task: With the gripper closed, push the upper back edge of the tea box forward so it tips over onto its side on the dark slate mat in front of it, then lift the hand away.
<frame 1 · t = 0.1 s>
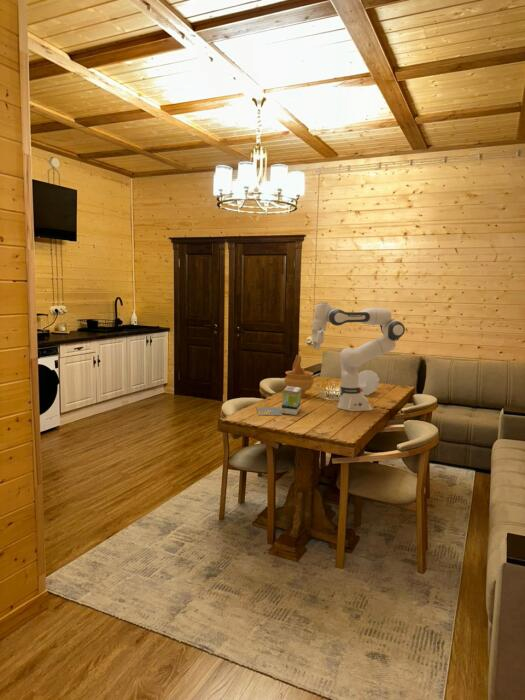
hand: (316, 348, 309), 39 cm above the table, tool pointing down, fingers open, 8 cm apart
terracotta urn: (298, 396, 348), on the table
tea box: (290, 411, 301), on the table, touching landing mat
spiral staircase: (365, 393, 363), on the table
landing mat: (269, 411, 300), on the table
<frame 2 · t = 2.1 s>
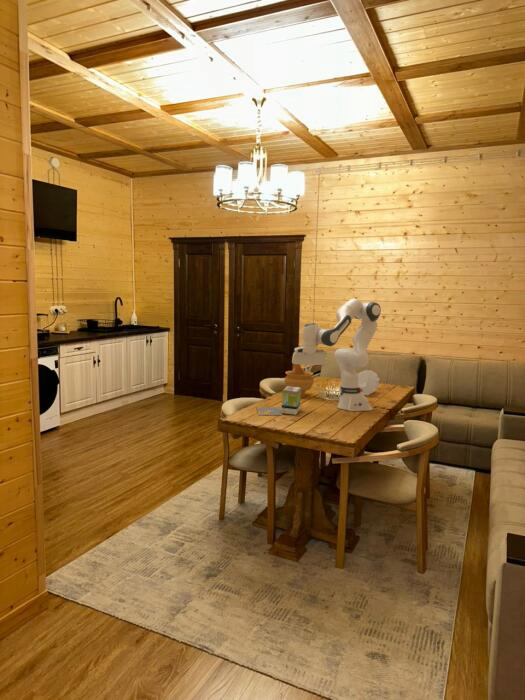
hand: (307, 371, 298), 26 cm above the table, tool pointing down, fingers closed
nothing on the table moved.
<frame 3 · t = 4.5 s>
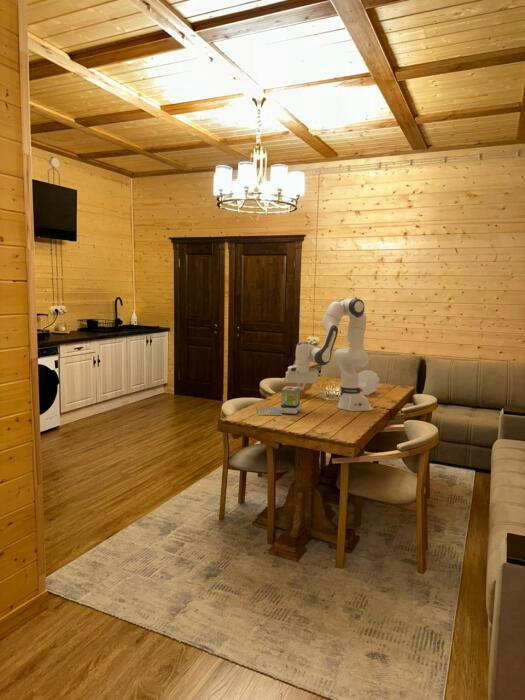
hand: (301, 389, 299), 14 cm above the table, tool pointing down, fingers closed
tea box: (290, 411, 301), on the table, touching gripper, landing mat
everything else where it was.
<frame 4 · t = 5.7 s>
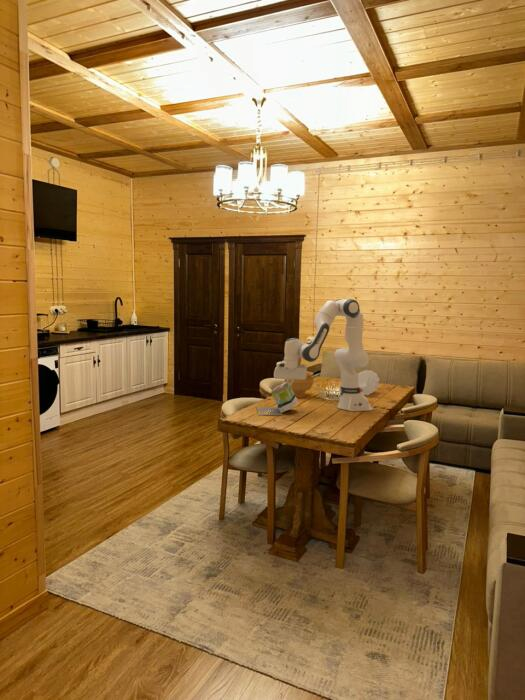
hand: (289, 386, 299), 16 cm above the table, tool pointing down, fingers closed
tea box: (289, 407, 300), point 3 cm above the table, touching gripper, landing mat
everything else where it was.
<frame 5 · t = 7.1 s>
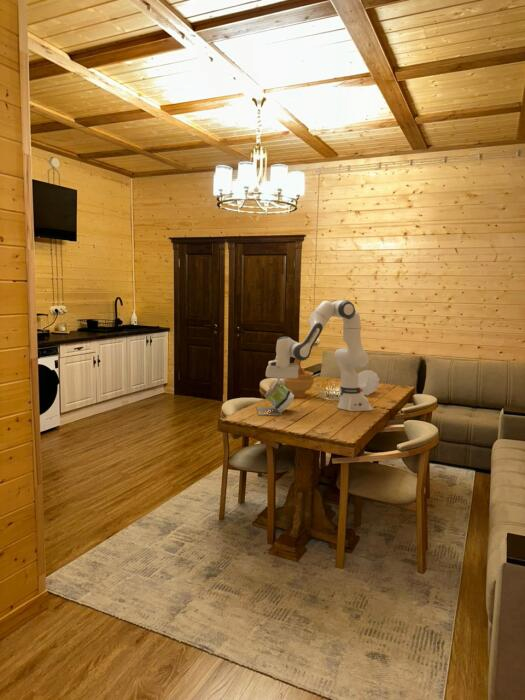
hand: (281, 384, 298), 17 cm above the table, tool pointing down, fingers closed
tea box: (288, 404, 300), point 5 cm above the table, touching gripper, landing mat
everything else where it was.
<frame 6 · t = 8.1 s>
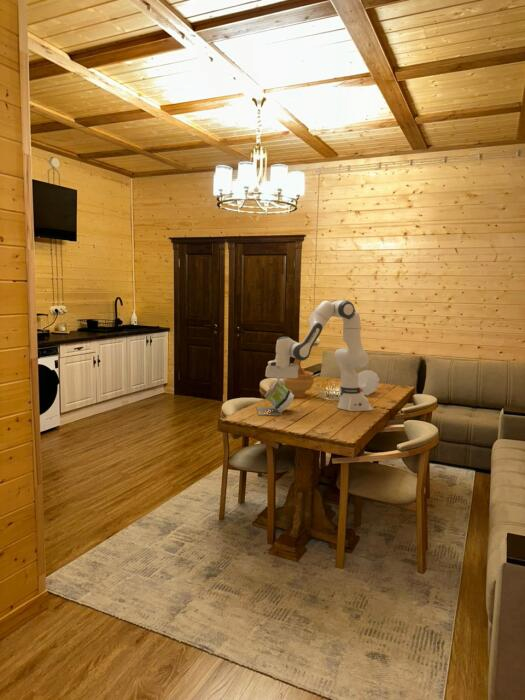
hand: (281, 384, 298), 17 cm above the table, tool pointing down, fingers closed
nothing on the table moved.
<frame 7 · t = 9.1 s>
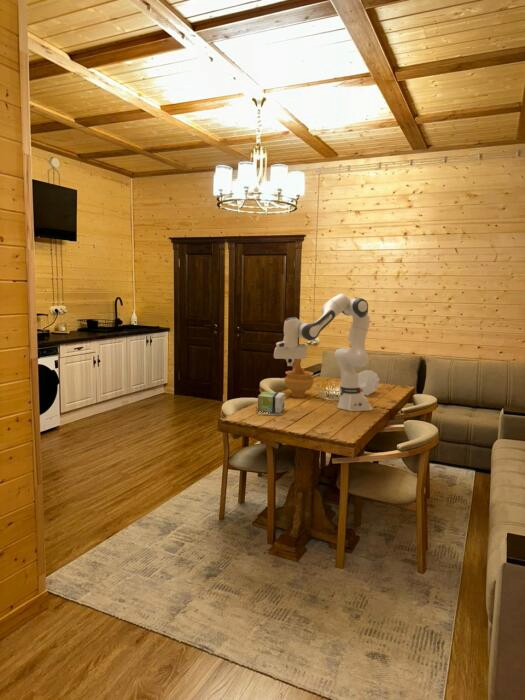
hand: (289, 365, 297), 29 cm above the table, tool pointing down, fingers closed
tea box: (283, 402, 301), point 6 cm above the table, touching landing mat
everything else where it was.
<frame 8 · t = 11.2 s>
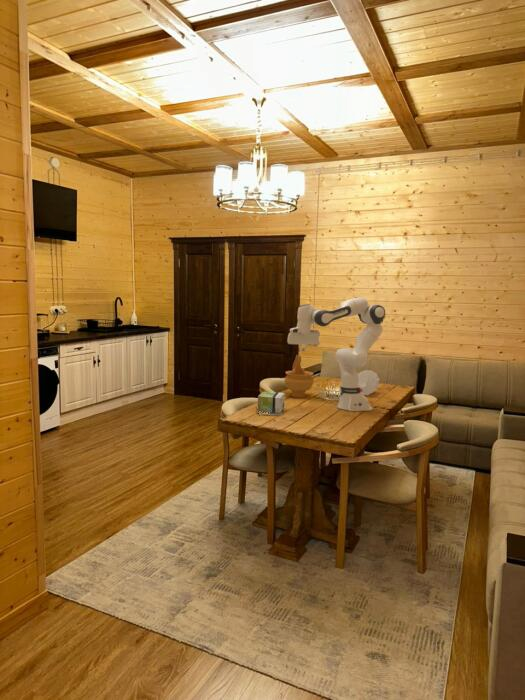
hand: (302, 351, 307), 37 cm above the table, tool pointing down, fingers closed
nothing on the table moved.
at the end: tea box tilted 91°; tea box touching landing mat; tea box inside the target area (1.8 cm from its centre), point 5.5 cm above the table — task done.
